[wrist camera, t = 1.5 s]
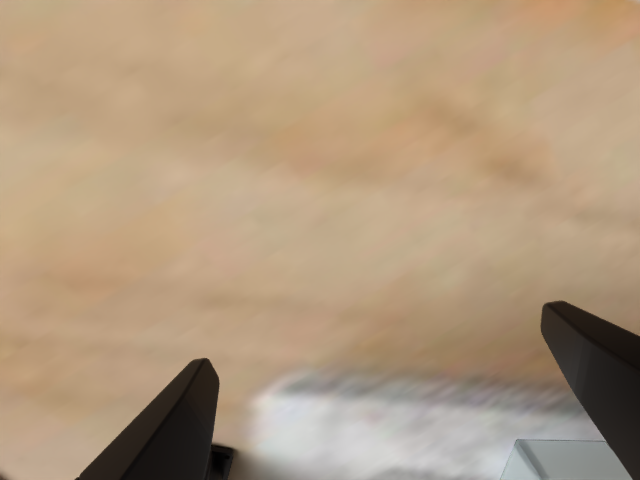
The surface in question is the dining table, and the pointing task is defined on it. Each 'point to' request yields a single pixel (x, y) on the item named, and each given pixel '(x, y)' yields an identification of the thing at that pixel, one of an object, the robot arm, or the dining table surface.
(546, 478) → the sleeve
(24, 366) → the dining table surface
